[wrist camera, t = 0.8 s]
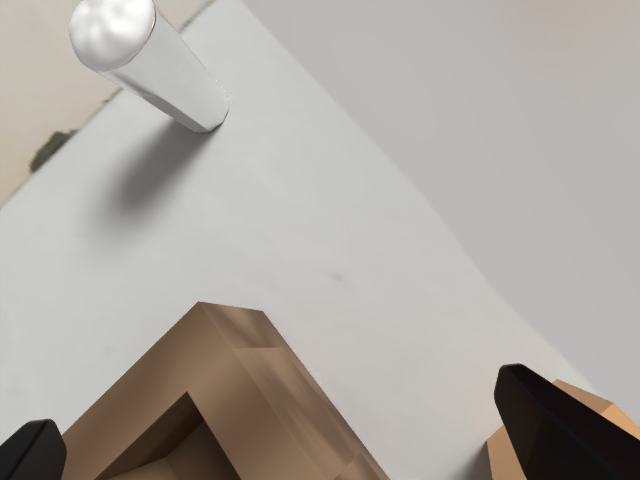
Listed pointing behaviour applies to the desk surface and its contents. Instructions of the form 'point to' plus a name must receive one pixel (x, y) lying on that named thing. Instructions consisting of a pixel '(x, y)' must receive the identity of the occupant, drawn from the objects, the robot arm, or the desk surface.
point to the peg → (501, 450)
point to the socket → (216, 411)
